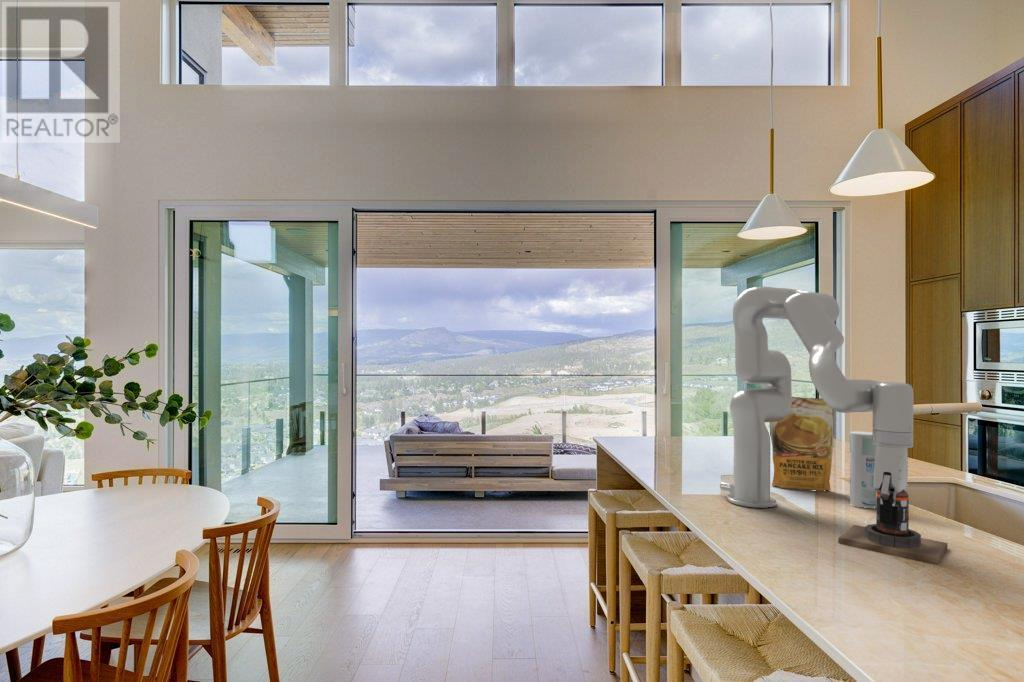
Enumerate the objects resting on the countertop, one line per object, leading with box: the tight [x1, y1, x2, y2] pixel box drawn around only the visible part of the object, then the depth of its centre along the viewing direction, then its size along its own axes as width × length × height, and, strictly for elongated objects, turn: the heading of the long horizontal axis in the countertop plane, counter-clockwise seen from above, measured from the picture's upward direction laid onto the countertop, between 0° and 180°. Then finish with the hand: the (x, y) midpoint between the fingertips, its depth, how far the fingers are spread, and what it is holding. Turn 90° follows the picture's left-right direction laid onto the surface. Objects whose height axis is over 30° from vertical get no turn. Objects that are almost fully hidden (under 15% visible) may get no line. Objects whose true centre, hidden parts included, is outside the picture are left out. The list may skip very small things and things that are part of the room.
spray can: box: [849, 430, 877, 509], centre depth 161 cm, size 6×6×20 cm
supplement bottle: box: [875, 487, 910, 535], centre depth 128 cm, size 6×6×11 cm
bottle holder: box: [837, 523, 948, 565], centre depth 128 cm, size 18×13×3 cm
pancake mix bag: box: [768, 396, 835, 492], centre depth 180 cm, size 7×19×28 cm, turn 71°
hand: (892, 519), depth 128 cm, fingers closed on supplement bottle, 6 cm apart
